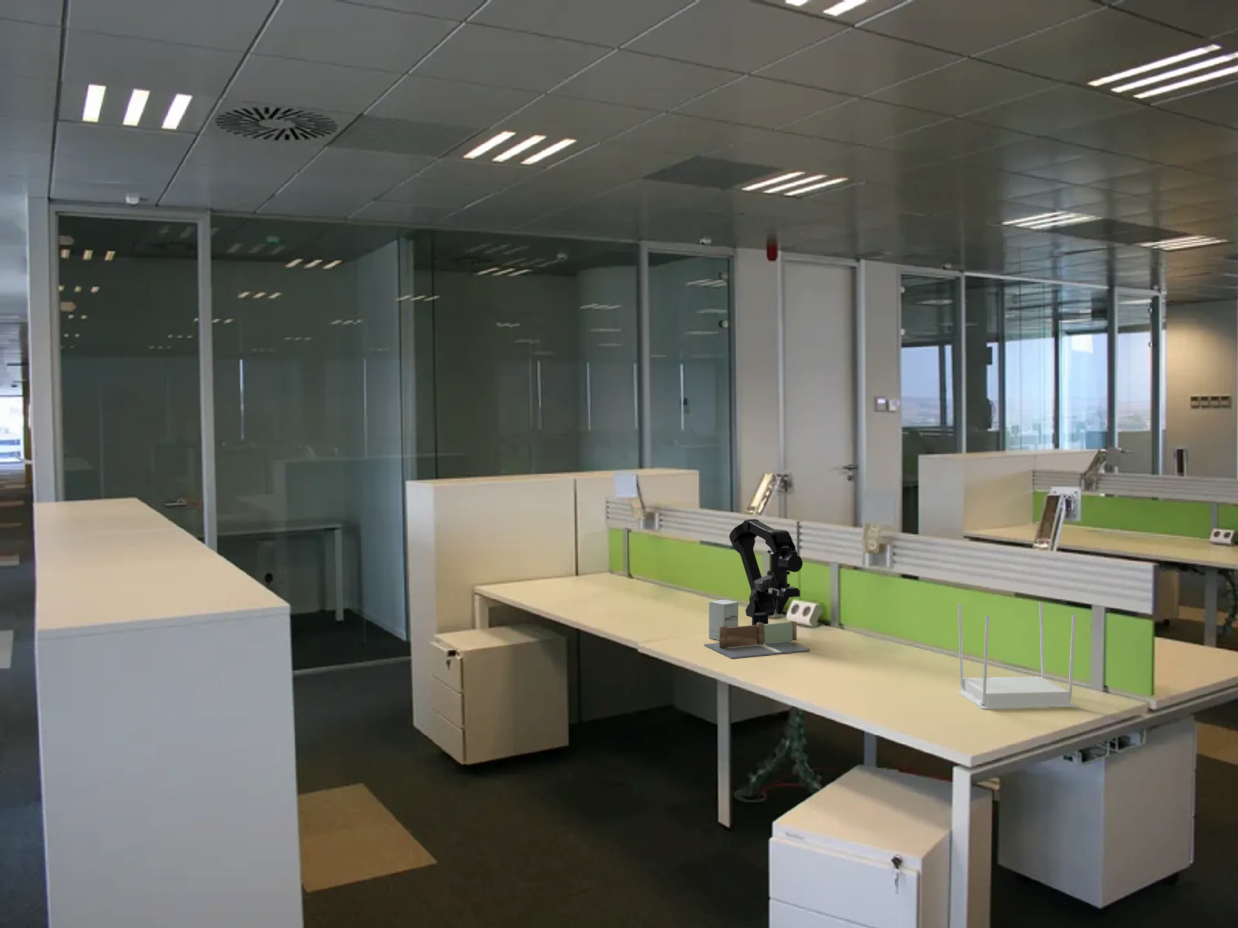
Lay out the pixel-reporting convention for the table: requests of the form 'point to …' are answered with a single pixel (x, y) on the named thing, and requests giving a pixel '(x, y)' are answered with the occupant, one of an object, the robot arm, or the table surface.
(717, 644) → the card
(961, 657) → the router
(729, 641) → the fixed fence section
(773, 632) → the hinged fence panel
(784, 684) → the table surface
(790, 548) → the robot arm
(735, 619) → the supplement box
